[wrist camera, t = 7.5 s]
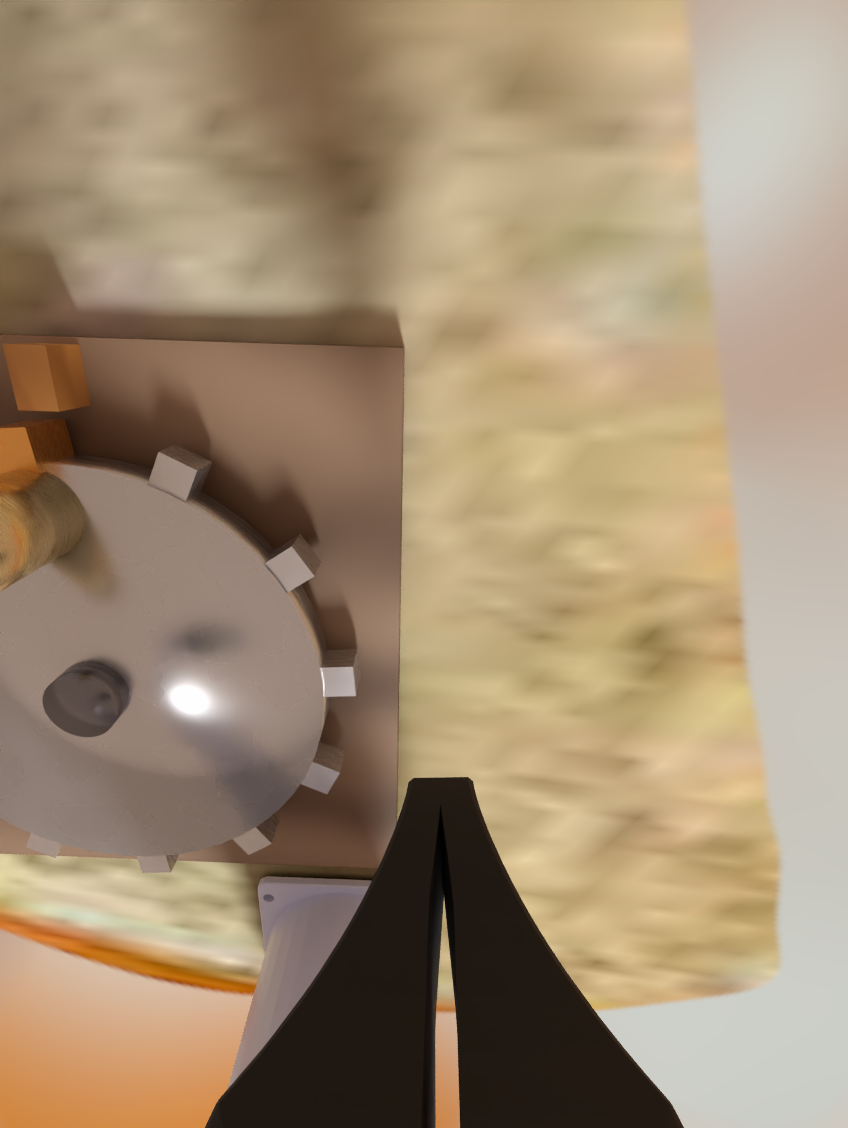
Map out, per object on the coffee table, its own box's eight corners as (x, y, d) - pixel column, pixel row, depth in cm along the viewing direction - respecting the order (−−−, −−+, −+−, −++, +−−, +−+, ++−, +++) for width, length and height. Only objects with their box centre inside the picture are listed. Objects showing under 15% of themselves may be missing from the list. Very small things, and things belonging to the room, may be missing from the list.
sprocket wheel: (377, 841, 24) (362, 977, 19) (-31, 848, 25) (-153, 980, 20) (333, 407, 17) (290, 436, 12) (-232, 431, 18) (-500, 469, 13)
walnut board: (396, 853, 26) (393, 902, 24) (-51, 836, 26) (-97, 882, 24) (404, 347, 18) (399, 349, 15) (-254, 326, 18) (-353, 324, 15)
